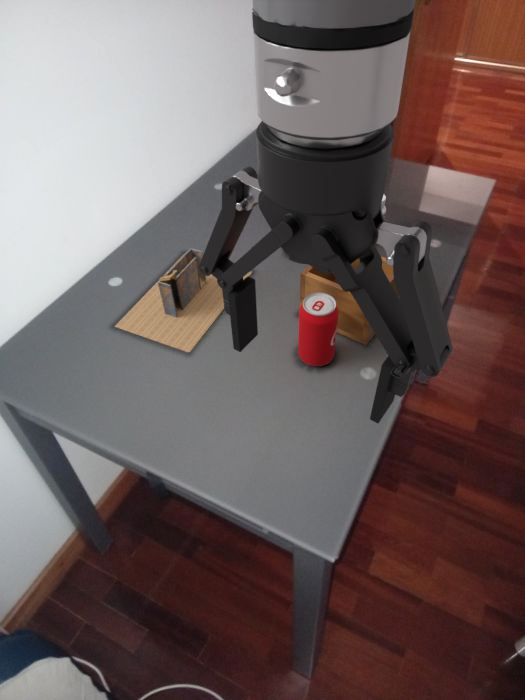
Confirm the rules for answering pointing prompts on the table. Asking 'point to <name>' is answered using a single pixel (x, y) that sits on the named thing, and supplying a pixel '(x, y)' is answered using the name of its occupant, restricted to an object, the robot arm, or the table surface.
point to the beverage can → (317, 329)
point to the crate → (342, 300)
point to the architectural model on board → (177, 305)
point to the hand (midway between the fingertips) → (309, 373)
